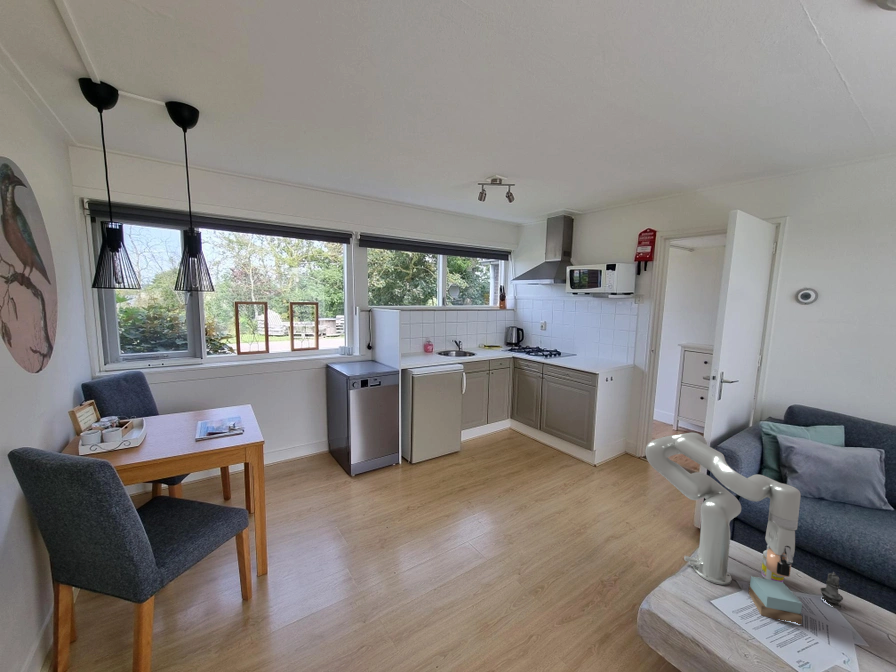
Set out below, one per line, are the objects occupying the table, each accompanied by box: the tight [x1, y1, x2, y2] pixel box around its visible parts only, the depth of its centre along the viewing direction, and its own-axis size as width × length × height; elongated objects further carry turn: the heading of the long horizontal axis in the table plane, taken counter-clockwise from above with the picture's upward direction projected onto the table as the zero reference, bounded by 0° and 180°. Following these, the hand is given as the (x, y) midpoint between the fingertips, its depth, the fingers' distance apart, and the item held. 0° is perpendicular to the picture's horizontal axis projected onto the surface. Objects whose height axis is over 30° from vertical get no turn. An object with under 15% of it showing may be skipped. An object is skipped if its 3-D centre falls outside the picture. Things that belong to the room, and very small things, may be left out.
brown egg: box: [766, 548, 792, 578], centre depth 127 cm, size 6×6×6 cm
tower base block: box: [748, 583, 803, 624], centre depth 128 cm, size 11×11×4 cm
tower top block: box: [749, 575, 803, 615], centre depth 128 cm, size 10×10×4 cm
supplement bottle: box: [760, 544, 785, 583], centre depth 143 cm, size 7×7×13 cm
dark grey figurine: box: [819, 571, 844, 610], centre depth 132 cm, size 6×6×12 cm
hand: (778, 567), depth 128 cm, fingers closed on brown egg, 6 cm apart
